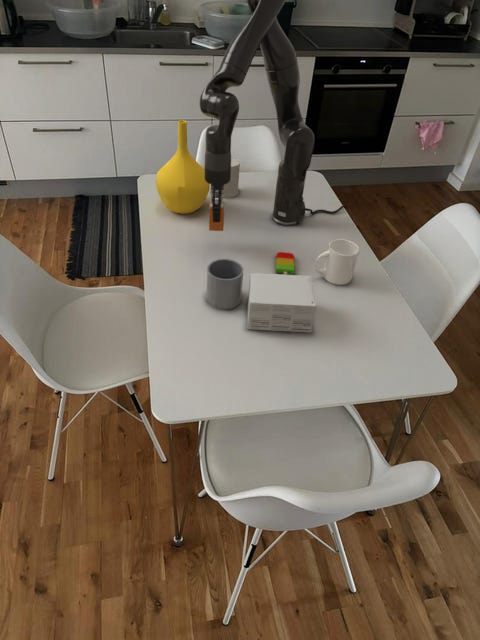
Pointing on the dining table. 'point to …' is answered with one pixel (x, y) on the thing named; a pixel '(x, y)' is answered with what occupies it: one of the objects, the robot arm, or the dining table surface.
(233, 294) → the steel cup
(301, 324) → the supplement box
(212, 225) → the juice carton
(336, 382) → the dining table surface
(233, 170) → the cup
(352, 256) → the mug
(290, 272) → the popsicle
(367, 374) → the dining table surface
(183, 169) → the vase
